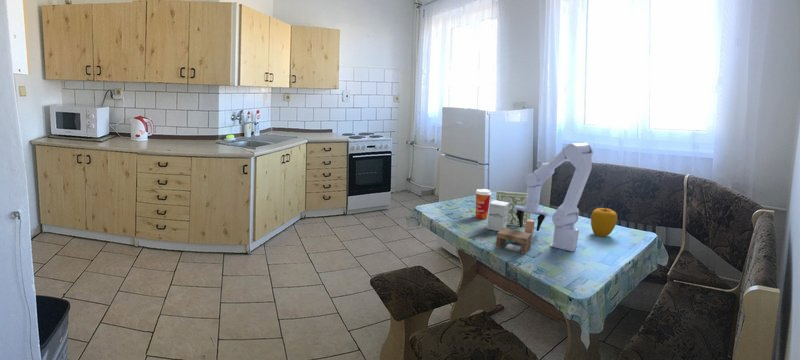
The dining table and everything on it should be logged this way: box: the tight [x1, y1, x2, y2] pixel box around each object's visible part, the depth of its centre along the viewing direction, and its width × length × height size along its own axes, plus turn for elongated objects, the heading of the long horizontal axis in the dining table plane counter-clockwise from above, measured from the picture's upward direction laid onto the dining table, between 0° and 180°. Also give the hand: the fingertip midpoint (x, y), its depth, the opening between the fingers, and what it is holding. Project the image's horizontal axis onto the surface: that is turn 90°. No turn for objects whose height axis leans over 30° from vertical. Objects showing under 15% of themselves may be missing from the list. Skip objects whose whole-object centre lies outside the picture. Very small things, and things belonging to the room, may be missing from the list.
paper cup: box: [475, 188, 492, 221], centre depth 222 cm, size 8×8×14 cm
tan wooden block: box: [513, 218, 536, 245], centre depth 198 cm, size 3×18×6 cm, turn 149°
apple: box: [590, 207, 618, 238], centre depth 204 cm, size 11×11×13 cm
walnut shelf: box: [495, 227, 533, 255], centre depth 185 cm, size 12×8×6 cm, turn 59°
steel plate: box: [504, 243, 522, 252], centre depth 185 cm, size 5×5×1 cm
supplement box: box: [486, 199, 510, 232], centre depth 207 cm, size 7×7×13 cm
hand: (529, 228), depth 204 cm, fingers open, 7 cm apart
